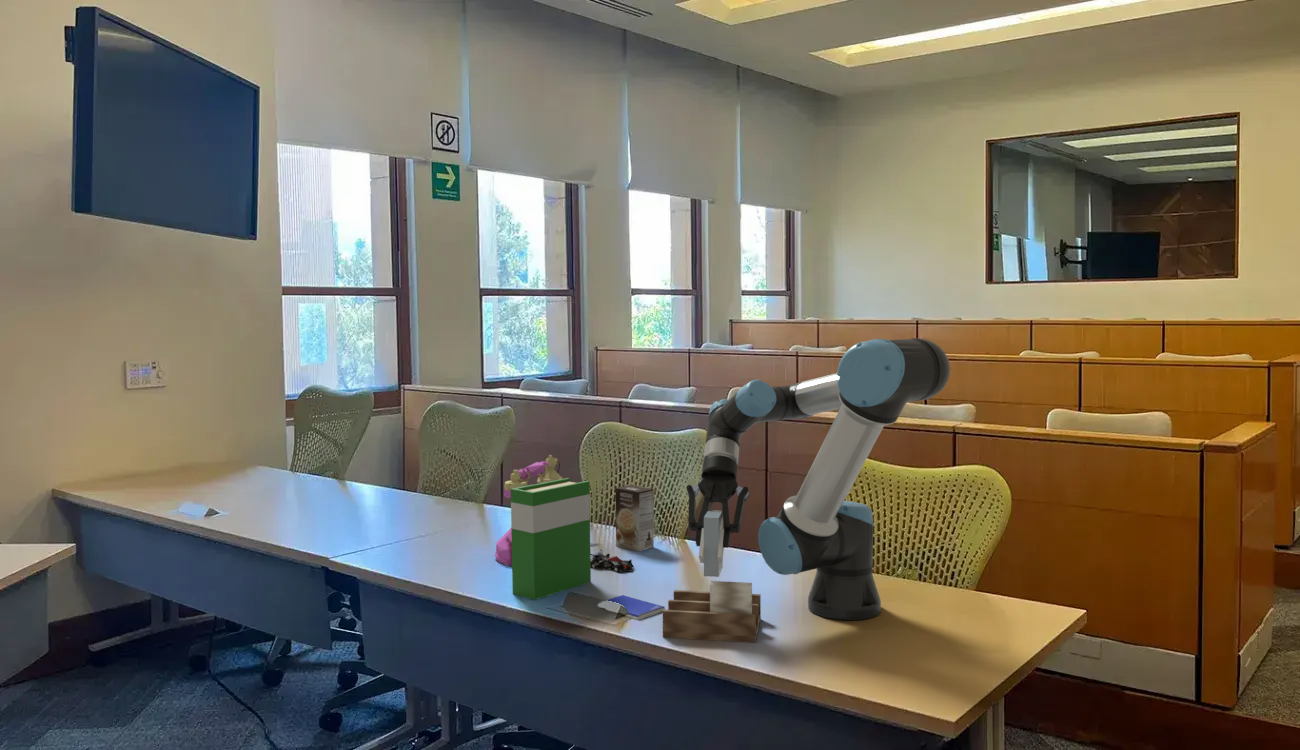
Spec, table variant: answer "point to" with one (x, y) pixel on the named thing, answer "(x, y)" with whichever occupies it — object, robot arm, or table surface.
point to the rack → (714, 613)
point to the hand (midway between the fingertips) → (710, 559)
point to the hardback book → (550, 537)
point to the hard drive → (637, 607)
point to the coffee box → (635, 517)
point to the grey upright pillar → (712, 542)
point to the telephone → (505, 542)
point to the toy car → (610, 563)
